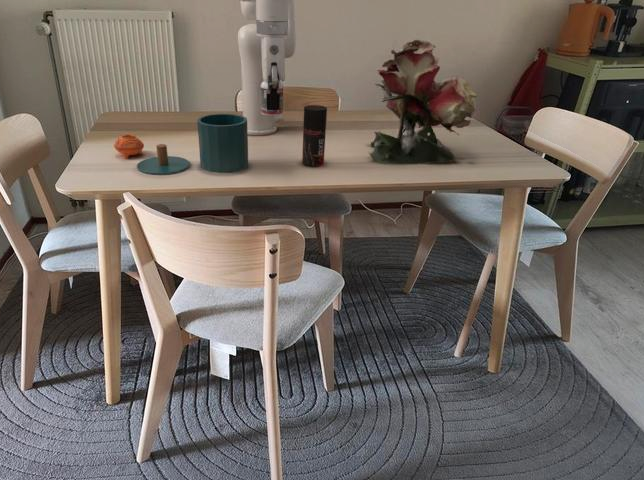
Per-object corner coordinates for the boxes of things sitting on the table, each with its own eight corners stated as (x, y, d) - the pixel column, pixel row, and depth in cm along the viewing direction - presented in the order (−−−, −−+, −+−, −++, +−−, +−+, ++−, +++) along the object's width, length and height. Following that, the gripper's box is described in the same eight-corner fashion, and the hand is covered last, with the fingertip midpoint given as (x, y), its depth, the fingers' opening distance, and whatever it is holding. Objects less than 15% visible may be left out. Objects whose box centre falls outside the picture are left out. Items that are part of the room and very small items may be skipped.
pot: (107, 157, 137) (108, 132, 135) (130, 157, 144) (130, 133, 142) (127, 162, 133) (127, 136, 131) (149, 161, 140) (150, 136, 138)
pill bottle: (280, 117, 126) (280, 76, 120) (258, 116, 127) (258, 75, 121) (284, 111, 130) (285, 71, 125) (263, 110, 131) (263, 70, 126)
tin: (246, 158, 139) (245, 113, 133) (249, 174, 129) (248, 125, 122) (201, 159, 138) (198, 113, 132) (200, 175, 127) (196, 126, 121)
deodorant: (317, 168, 133) (320, 111, 125) (298, 164, 136) (299, 108, 128) (327, 162, 137) (331, 107, 130) (308, 158, 140) (311, 104, 132)
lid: (191, 159, 138) (189, 137, 135) (188, 176, 127) (186, 153, 123) (141, 160, 137) (138, 138, 134) (134, 177, 125) (130, 154, 122)
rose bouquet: (476, 164, 138) (502, 46, 123) (372, 165, 136) (386, 45, 121) (444, 137, 160) (462, 35, 145) (354, 138, 158) (364, 34, 143)
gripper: (292, 33, 111) (290, 115, 121) (283, 24, 125) (282, 98, 135) (259, 33, 110) (259, 115, 120) (254, 24, 125) (254, 98, 134)
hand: (271, 105), depth 127 cm, fingers closed on pill bottle, 5 cm apart
